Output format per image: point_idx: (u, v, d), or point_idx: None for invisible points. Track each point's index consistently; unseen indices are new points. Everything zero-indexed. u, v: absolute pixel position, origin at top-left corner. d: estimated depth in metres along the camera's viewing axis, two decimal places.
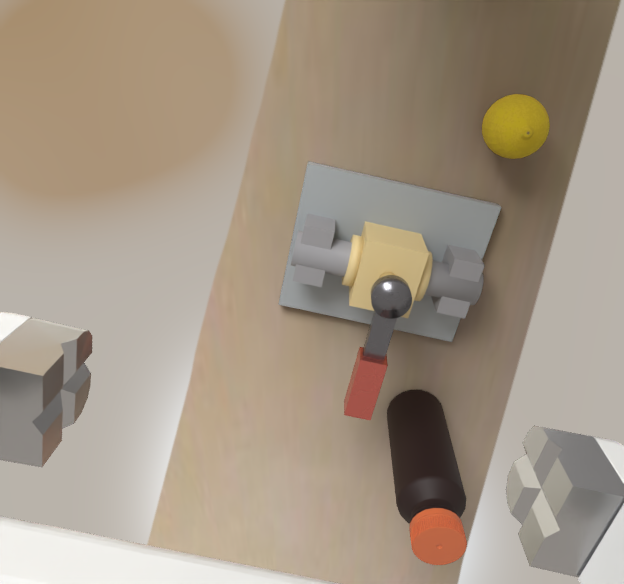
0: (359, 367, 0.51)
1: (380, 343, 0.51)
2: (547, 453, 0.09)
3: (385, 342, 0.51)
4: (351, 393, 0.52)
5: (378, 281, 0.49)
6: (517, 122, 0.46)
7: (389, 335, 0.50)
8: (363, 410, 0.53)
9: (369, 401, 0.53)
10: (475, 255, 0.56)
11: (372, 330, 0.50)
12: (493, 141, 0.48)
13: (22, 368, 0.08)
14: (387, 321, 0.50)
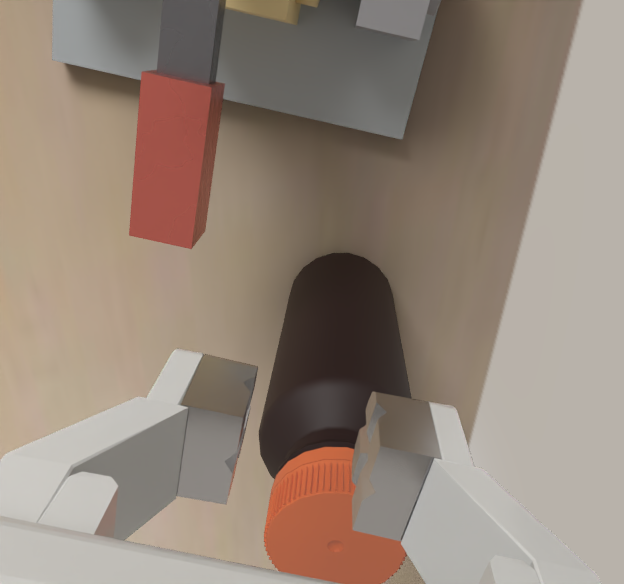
0: (143, 95, 0.20)
1: (194, 31, 0.20)
2: (376, 417, 0.09)
3: (205, 27, 0.20)
4: (136, 174, 0.22)
5: None
6: None
7: (213, 4, 0.20)
8: (171, 222, 0.22)
9: (182, 196, 0.22)
10: None
11: None
12: None
13: (221, 409, 0.08)
14: None
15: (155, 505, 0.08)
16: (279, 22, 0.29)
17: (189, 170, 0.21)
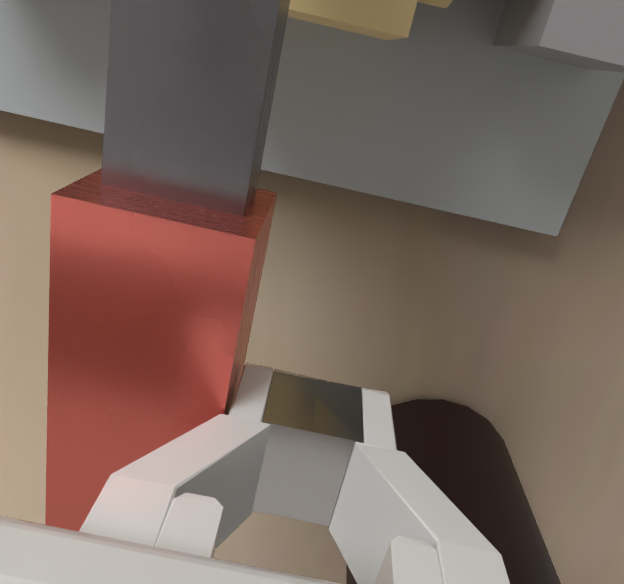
0: (59, 255, 0.07)
1: (206, 78, 0.07)
2: None
3: (239, 65, 0.07)
4: (53, 433, 0.08)
5: None
6: None
7: None
8: None
9: None
10: None
11: None
12: None
13: (301, 426, 0.08)
14: None
15: (234, 521, 0.08)
16: (354, 35, 0.16)
17: (189, 430, 0.08)
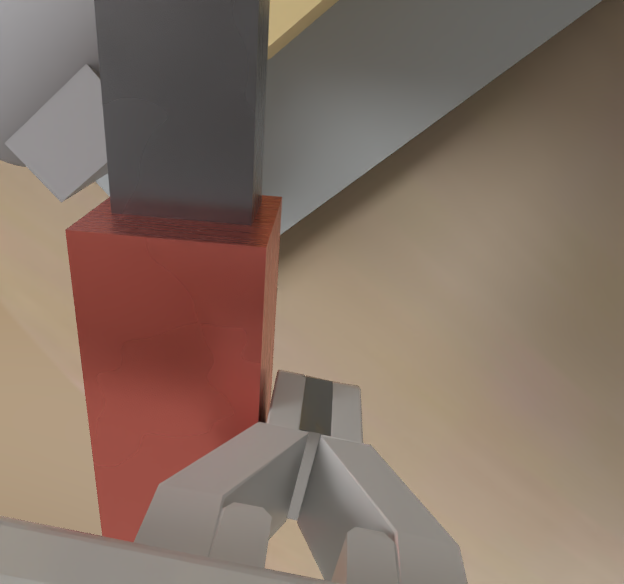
0: (81, 287, 0.07)
1: (198, 97, 0.07)
2: None
3: (228, 80, 0.07)
4: (99, 457, 0.09)
5: None
6: None
7: (242, 10, 0.07)
8: None
9: None
10: None
11: None
12: None
13: (338, 434, 0.08)
14: None
15: (271, 528, 0.08)
16: None
17: (227, 438, 0.08)
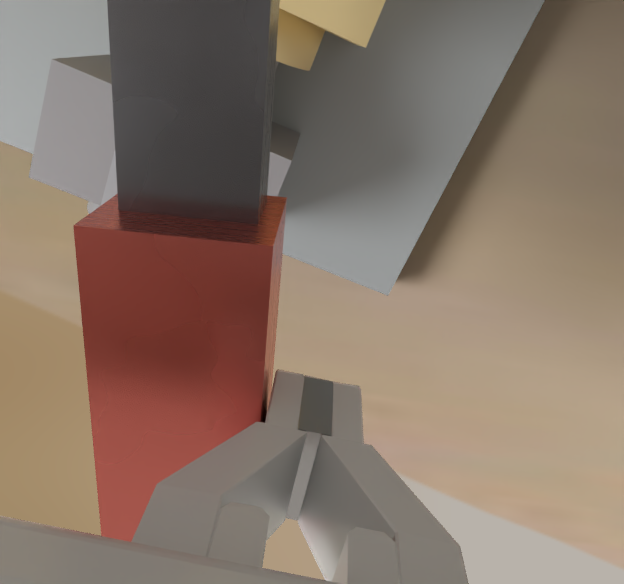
0: (88, 283, 0.07)
1: (208, 96, 0.07)
2: None
3: (238, 80, 0.07)
4: (100, 454, 0.09)
5: None
6: None
7: (253, 12, 0.07)
8: None
9: None
10: None
11: None
12: None
13: (336, 434, 0.08)
14: None
15: (270, 528, 0.08)
16: None
17: (230, 436, 0.08)
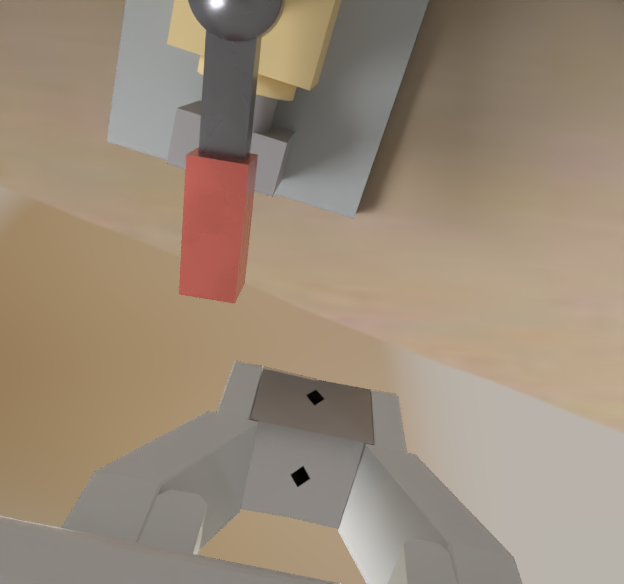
0: (188, 174, 0.23)
1: (231, 116, 0.23)
2: (316, 404, 0.09)
3: (240, 112, 0.23)
4: (184, 241, 0.24)
5: None
6: None
7: (246, 92, 0.22)
8: (216, 281, 0.25)
9: (225, 258, 0.24)
10: None
11: (206, 82, 0.22)
12: None
13: (289, 424, 0.08)
14: (236, 54, 0.22)
15: (222, 518, 0.08)
16: None
17: (231, 236, 0.24)
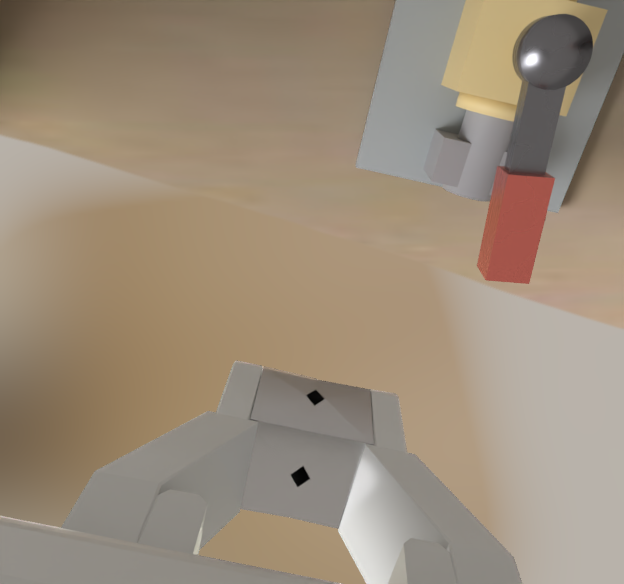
0: (507, 189, 0.31)
1: (538, 143, 0.31)
2: (316, 404, 0.09)
3: (546, 139, 0.30)
4: (495, 239, 0.32)
5: (526, 28, 0.29)
6: None
7: (553, 125, 0.30)
8: (517, 267, 0.33)
9: (526, 249, 0.32)
10: None
11: (523, 120, 0.30)
12: None
13: (289, 424, 0.08)
14: (549, 98, 0.30)
15: (222, 519, 0.08)
16: None
17: (533, 232, 0.32)
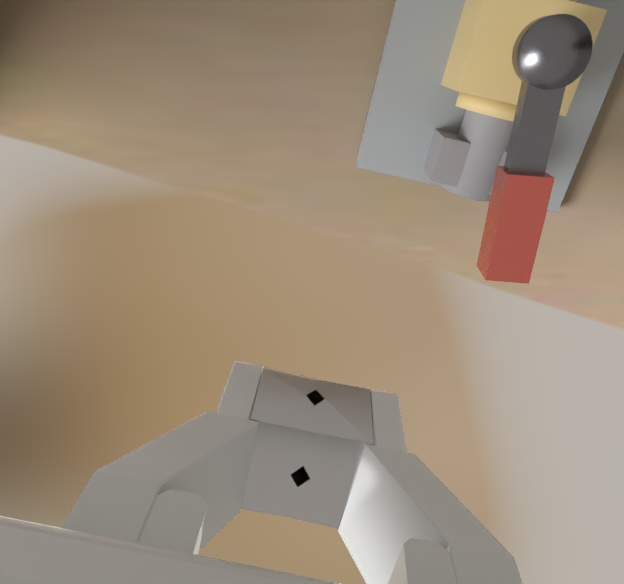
0: (507, 188, 0.31)
1: (538, 143, 0.31)
2: (316, 404, 0.09)
3: (546, 139, 0.30)
4: (495, 239, 0.32)
5: (526, 28, 0.29)
6: None
7: (552, 124, 0.30)
8: (516, 267, 0.33)
9: (526, 249, 0.32)
10: None
11: (523, 120, 0.30)
12: None
13: (289, 424, 0.08)
14: (548, 98, 0.30)
15: (222, 519, 0.08)
16: None
17: (533, 232, 0.32)
